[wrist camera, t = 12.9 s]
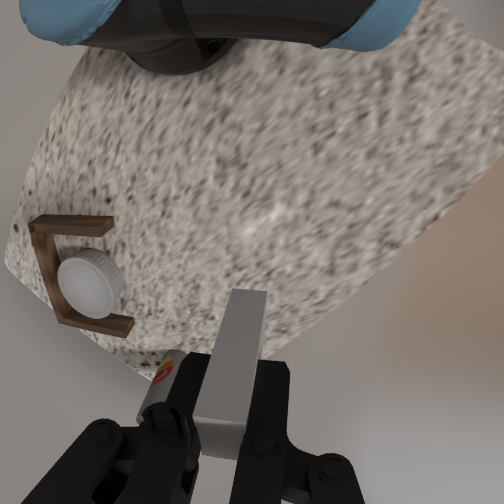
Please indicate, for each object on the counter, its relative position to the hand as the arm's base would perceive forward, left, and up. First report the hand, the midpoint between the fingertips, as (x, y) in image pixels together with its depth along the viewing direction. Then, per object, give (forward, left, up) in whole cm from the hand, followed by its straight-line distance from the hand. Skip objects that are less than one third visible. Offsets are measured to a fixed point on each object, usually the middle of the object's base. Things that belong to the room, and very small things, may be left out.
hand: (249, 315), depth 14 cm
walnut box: (+16, -31, -26) cm, 44 cm away
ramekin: (+17, -28, -27) cm, 42 cm away
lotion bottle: (+34, -16, -27) cm, 46 cm away
